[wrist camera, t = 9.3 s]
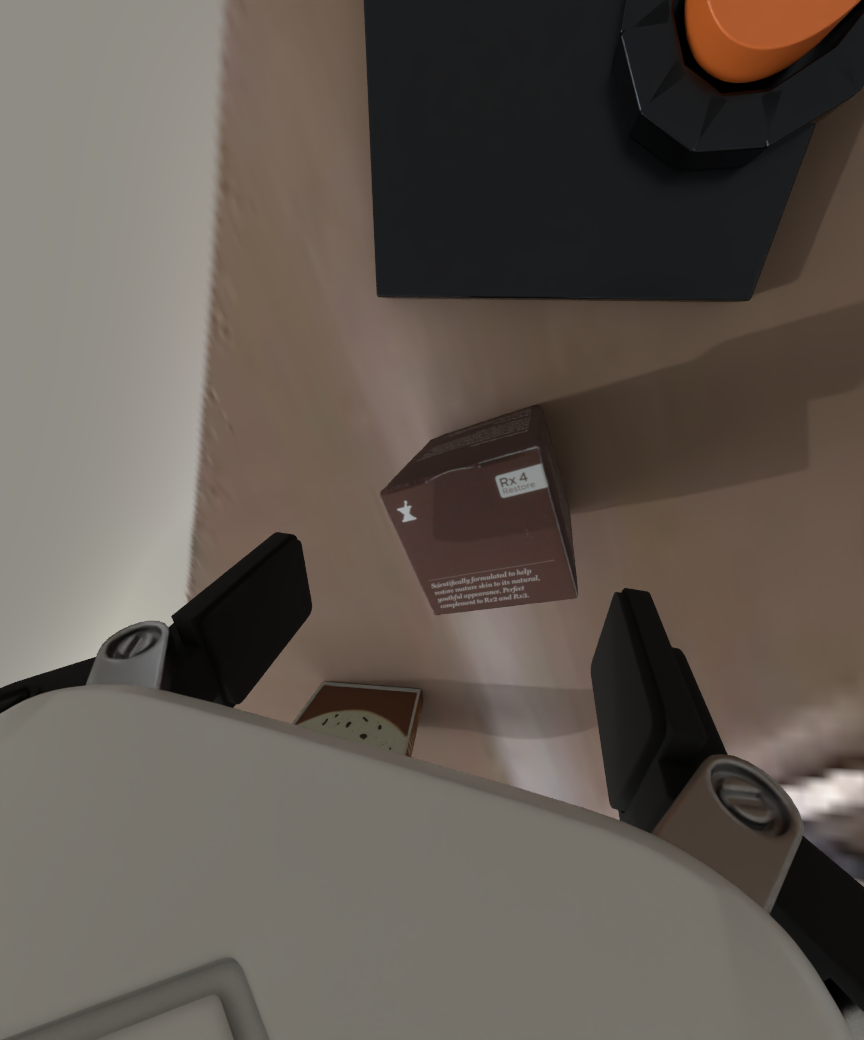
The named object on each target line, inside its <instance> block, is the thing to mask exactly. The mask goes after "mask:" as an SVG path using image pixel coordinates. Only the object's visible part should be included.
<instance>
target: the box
mask: <svg viewBox="0 0 864 1040" xmlns="http://www.w3.org/2000/svg"><path fill="white" fill-rule="evenodd" d="M380 497H381V499H382V501H383V504H384V506H385V508H386V511H387V512H388V515H389V517H390V519H391V521H392V523H393V525H394V527H395V530H396V532H397V534H398V536H399V538H400V540H401V543H402V545H403V547H404V549H405V551H406V554H407V556H408V558H409V560H410V562H411V564H412V567H413V569H414V571H415V573H416V576H417V578H418V580H419V582H420V585H421V587H422V589H423V591H424V593H425V595H426V598H427V600H428V602H429V604H430V606H431V608H432V611H433V613H434V615H441V614H449V613H457V612H466V611H474V610H482V609H491V608H499V607H508V606H515V605H524V604H532V603H541V602H549V601H557V600H566V599H574V598H577V596H578V589H577V576H576V567H575V558H574V550H573V540H572V529H571V517H570V510H569V506H568V503H567V499H566V495H565V491H564V487H563V483H562V480H561V476H560V472H559V468H558V464H557V461H556V457H555V454H554V450H553V446H552V443H551V439H550V436H549V432H548V429H547V425H546V422H545V418H544V414H543V410H542V408H541V406H540V405H535V406H532V407H529V408H526V409H523V410H520V411H517V412H514V413H511V414H508V415H504V416H501V417H498V418H495V419H493V420H489V421H486V422H483V423H480V424H477V425H474V426H471V427H468V428H465V429H462V430H459V431H456V432H453V433H450V434H447V435H444V436H441V437H438V438H435V439H432V440H430V441H429V442H428V444H427V445H426V446H425V447H424V448H423V449H422V450H421V451H420V452H419V453H418V454H417V455H416V456H415V457H414V458H413V459H412V460H411V461H410V462H409V463H408V464H407V465H406V466H405V467H404V468H403V469H402V470H401V471H400V472H399V473H398V475H396V476H395V477H394V478H393V480H392V481H391V482H390V483H389V484H388V486H387V487H385V488H384V489H383V490H382V491H381V492H380Z"/></svg>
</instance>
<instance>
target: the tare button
mask: <svg viewBox="0 0 864 1040" xmlns="http://www.w3.org/2000/svg"><path fill="white" fill-rule="evenodd" d="M860 1H861V0H685V6H684V24H685V31H686V37H687V41H688V44H689V48H690V50H691V52H692V54H693V56H694V58H695V60H696V61H697V63H698V64H699V65H700V67H701V68H702V69H703V70H705V71H706V72H707V73H708V74H710V75H711V76H713V77H714V78H716V79H719V80H722V81H725V82H731V83H746V82H752V81H757V80H760V79H763V78H766V77H769V76H771V75H774V74H776V73H778V72H780V71H782V70H784V69H785V68H787V67H789V66H790V65H792V64H794V63H795V62H796V61H798V60H799V59H800V58H802V57H803V56H805V55H806V54H807V53H808V52H809V51H811V50H812V49H813V48H814V47H815V46H816V45H817V44H819V43H820V42H821V41H822V40H823V39H824V38H825V37H826V36H827V34H828V33H829V32H830V31H831V30H832V29H833V28H834V27H835V26H836V25H837V24H838V23H839V22H840V21H841V20H842V19H843V18H844V17H845V16H846V15H847V14H848V13H849V12H850V11H851V10H852V9H853V8H854V7H855V6H856V5H857V4H858V3H859V2H860Z"/></svg>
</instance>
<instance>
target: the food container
mask: <svg viewBox="0 0 864 1040" xmlns="http://www.w3.org/2000/svg"><path fill="white" fill-rule="evenodd" d="M422 705H423V696H422V692H421V689H412V688H399V687H386V686H373V685H360V684H347V683H334V682H322V684H321V685H320V686H319V688H318V689H317V691H316V692H315V693H314V695H313V696H312V697H311V699H310V700H309V701H308V703H307V704H306V705H305V707H304V708H303V710H302V711H301V712H300V714H299V715H298V716H297V718H296V719H295V720H294V722H293V723H292V724H293V725H297V726H300V727H304V728H308V729H311V730H315V731H318V732H322V733H326V734H329V735H333V736H336V737H340V738H344V739H347V740H351V741H354V742H358V743H361V744H365V745H369V746H372V747H376V748H379V749H383V750H386V751H390V752H394V753H397V754H401V755H404V756H408V757H411V755H412V751H413V746H414V741H415V737H416V732H417V728H418V723H419V719H420V714H421V709H422Z"/></svg>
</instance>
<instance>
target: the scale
mask: <svg viewBox="0 0 864 1040" xmlns="http://www.w3.org/2000/svg"><path fill="white" fill-rule="evenodd" d="M684 6H685V0H364V15H365V37H366V60H367V82H368V105H369V128H370V150H371V173H372V195H373V218H374V241H375V263H376V286H377V296H378V297H383V298H410V299H496V300H582V301H668V302H741V301H749V300H750V299H751V297H752V295H753V292H754V289H755V287H756V284H757V281H758V279H759V276H760V273H761V270H762V268H763V265H764V262H765V260H766V257H767V254H768V252H769V249H770V246H771V243H772V241H773V238H774V235H775V233H776V230H777V227H778V225H779V222H780V219H781V216H782V214H783V211H784V208H785V206H786V203H787V200H788V198H789V195H790V192H791V189H792V187H793V184H794V181H795V179H796V176H797V173H798V171H799V168H800V165H801V163H802V160H803V157H804V154H805V152H806V149H807V146H808V144H809V141H810V138H811V136H812V133H813V130H814V127H815V125H816V123H817V122H819V121H820V120H821V119H823V118H824V117H826V116H827V115H828V114H830V113H831V112H832V111H834V110H835V109H837V108H838V107H839V106H841V105H842V104H843V103H845V102H846V101H847V100H849V99H850V98H852V97H853V96H854V95H855V94H856V93H857V92H858V91H860V89H861V88H862V87H863V86H864V0H861V1H860V2H859V3H858V4H857V5H856V6H855V7H854V8H853V9H852V10H851V11H850V12H849V13H848V14H847V15H846V16H845V17H844V18H843V19H842V20H841V21H840V22H839V23H838V24H837V25H836V26H835V27H834V28H833V29H832V30H831V31H830V32H829V33H828V34H827V36H826V37H825V38H824V39H823V40H822V41H821V42H820V43H819V44H817V45H816V46H815V47H814V48H813V49H812V50H811V51H809V52H808V53H807V54H806V55H805V56H803V57H802V58H800V59H799V60H798V61H796V62H795V63H794V64H792V65H790V66H789V67H787V68H785V69H784V70H782V71H780V72H778V73H776V74H774V75H771V76H769V77H766V78H763V79H760V80H757V81H752V82H746V83H731V82H725V81H722V80H719V79H716V78H714V77H713V76H711V75H710V74H708V73H707V72H706V71H705V70H703V69H702V68H701V67H700V65H699V64H698V63H697V61H696V60H695V58H694V56H693V54H692V52H691V50H690V48H689V44H688V41H687V37H686V31H685V24H684Z"/></svg>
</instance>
